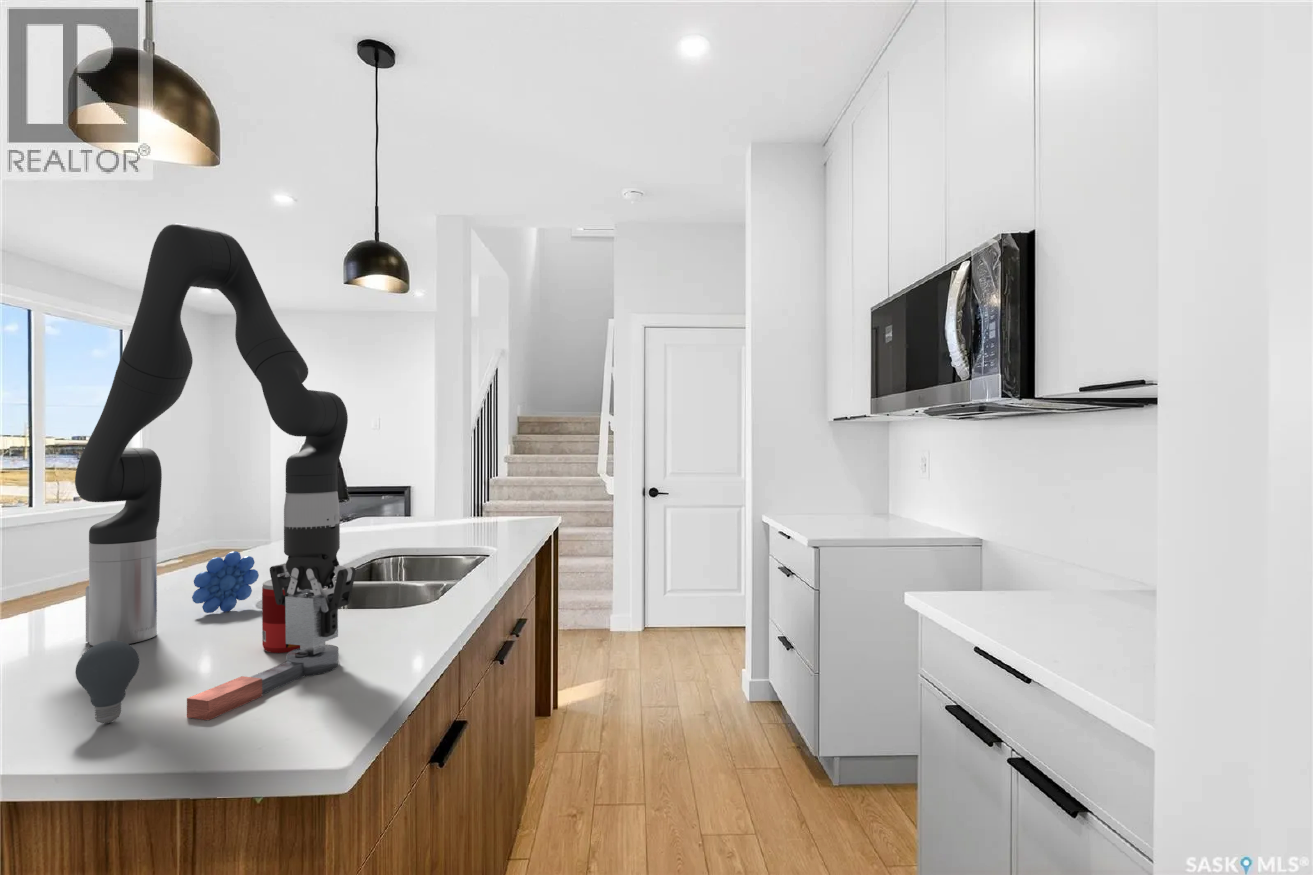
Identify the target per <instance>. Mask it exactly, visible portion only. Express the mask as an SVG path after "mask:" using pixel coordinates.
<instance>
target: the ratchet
mask: <svg viewBox="0 0 1313 875" xmlns="http://www.w3.org/2000/svg"><path fill="white" fill-rule="evenodd" d="M338 667H339V647H338V646H337V645H334V644H326V642H323V643H321V644H318V645H316V646H304V645H300V648H298V649H295V650H292V651H290V652H287V653H286V661H285V662H283V663H281V664H278V665H277V666H273V667H271V668H269V669H266V670H263V671H261V672H258V673H257V674H254V675H251V676H243V675H242V676H239V677H236V678H234V679H231V680H229V681H227V682H224V683H221V684H219V685H217V686H214V687H211V688H209V689H207V690H204V691H202V692H199V693H196V694H195V695H191V696H189V697H187V698H186V718H189V719H195V720H196V719H197V720H201V721H202V720H204V721H210V720H212V719H215V718H216V717H220V716H221V715H223V714H226V713H228V712H230V711H232V710H235V709H237V708H240V707H241V706H243V705H245V704H248V703H250V702H253V701H255V700H257V699H259V698H261V697H263V695H265V694H267V693H270V692H271V691H274V690H277V689H279V688H281V687H283V686H285V685H288V684H290V683H292V682H294V681H297V680H299V679H302V678H303V677H310V676H317V675H322V674H327V673H328V672H331V671H333V670H336V669H337V668H338Z"/></svg>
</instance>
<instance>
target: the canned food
mask: <svg viewBox="0 0 1313 875" xmlns="http://www.w3.org/2000/svg"><path fill="white" fill-rule="evenodd" d="M261 588H262V589H261V610H262V611H261V614H262V616H261V617H262V618H261V620H262V621H261V622H262V625H261V626H262V632H261V634H262V638H261V639H262V641H261V642H262V647H263V650H264V651H265V652H268V653H272V654H273V653H274V654H284V653H285V654H287V653H289V652H290V651H292V650H295V649H298V648H300V645H293V644H286V620H285V606H284V605H282V604H281V605H278V604H277V603H276V600H275V595H274V590H273V585H272V580H271V579H269V580H266V581H264V582H263V583H262V587H261ZM282 590H283V595H285V591H284V588H282Z"/></svg>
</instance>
